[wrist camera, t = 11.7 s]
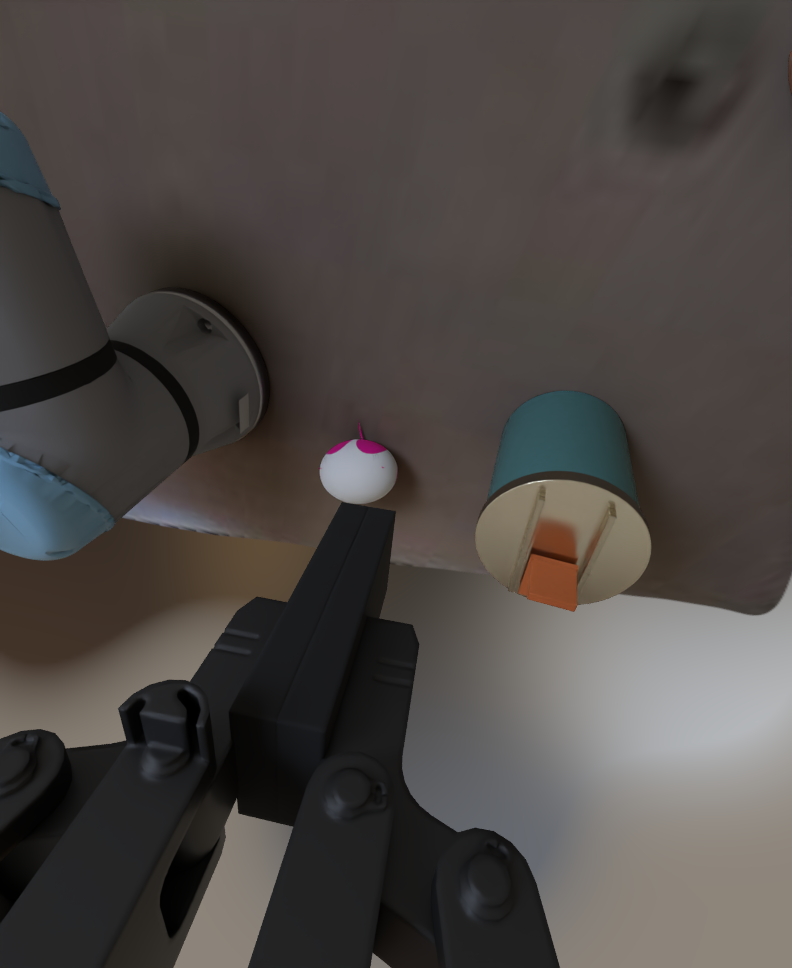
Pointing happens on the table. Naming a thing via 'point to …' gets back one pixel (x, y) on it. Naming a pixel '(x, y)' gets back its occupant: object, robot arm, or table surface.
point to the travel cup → (565, 497)
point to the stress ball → (358, 471)
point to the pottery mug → (790, 71)
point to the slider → (550, 582)
